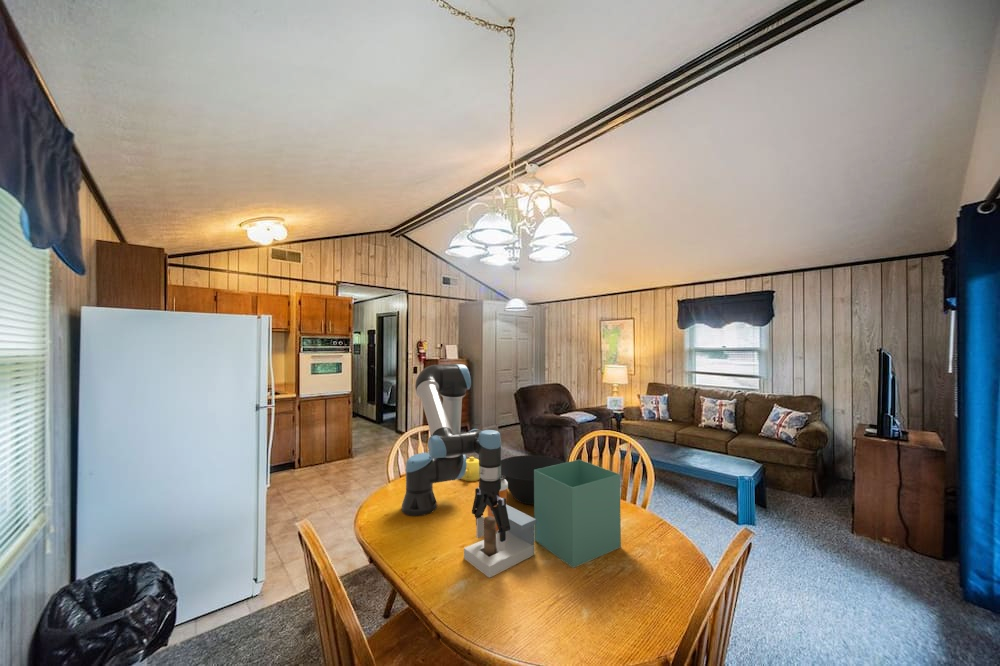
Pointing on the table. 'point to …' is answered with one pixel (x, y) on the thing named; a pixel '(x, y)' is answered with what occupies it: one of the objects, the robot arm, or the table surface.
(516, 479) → the bowl
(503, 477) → the shaker bottle
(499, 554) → the socket station
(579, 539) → the box
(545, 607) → the table surface
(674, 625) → the table surface
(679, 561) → the table surface
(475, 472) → the teapot
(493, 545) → the peg
